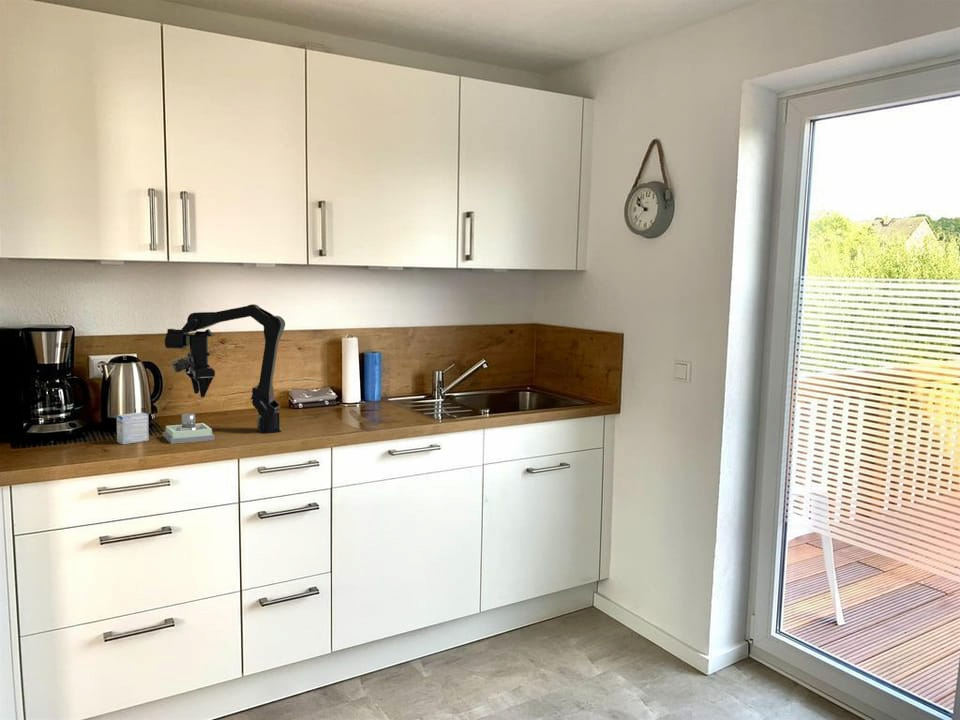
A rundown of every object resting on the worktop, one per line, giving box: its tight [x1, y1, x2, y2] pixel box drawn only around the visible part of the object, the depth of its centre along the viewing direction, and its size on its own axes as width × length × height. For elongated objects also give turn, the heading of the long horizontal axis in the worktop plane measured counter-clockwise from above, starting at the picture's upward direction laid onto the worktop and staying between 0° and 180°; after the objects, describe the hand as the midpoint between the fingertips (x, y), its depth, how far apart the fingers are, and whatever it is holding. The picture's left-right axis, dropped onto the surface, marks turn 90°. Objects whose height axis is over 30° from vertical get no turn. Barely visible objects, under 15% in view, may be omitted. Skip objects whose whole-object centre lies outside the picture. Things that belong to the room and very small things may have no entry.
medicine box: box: [116, 412, 149, 445], centre depth 219 cm, size 8×4×9 cm, turn 141°
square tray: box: [162, 422, 216, 445], centre depth 226 cm, size 13×13×4 cm
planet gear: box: [176, 413, 201, 431], centre depth 226 cm, size 7×7×6 cm
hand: (199, 395), depth 239 cm, fingers open, 9 cm apart
